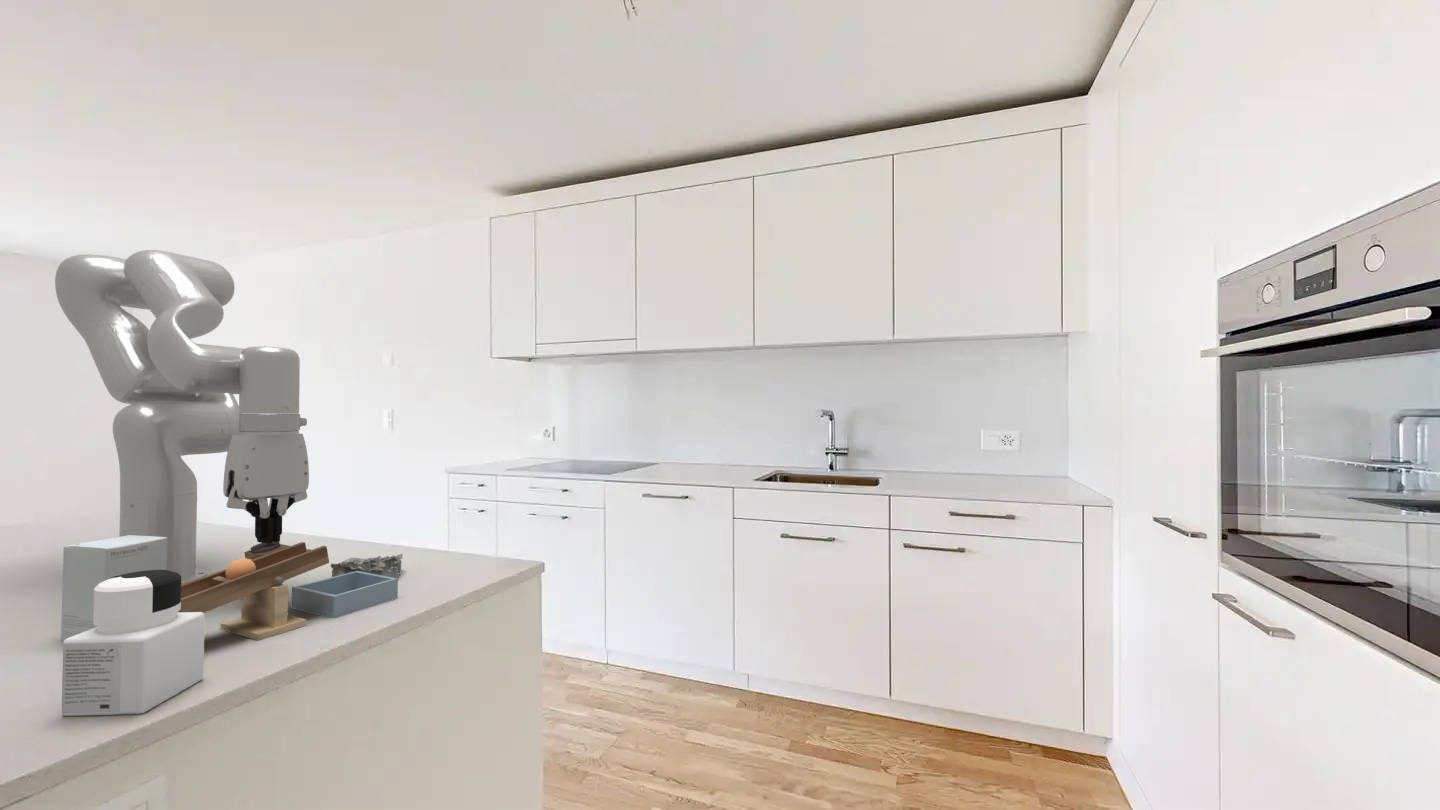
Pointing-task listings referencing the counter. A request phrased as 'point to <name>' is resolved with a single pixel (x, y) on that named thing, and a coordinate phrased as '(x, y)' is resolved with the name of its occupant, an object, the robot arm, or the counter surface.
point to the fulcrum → (264, 614)
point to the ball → (239, 568)
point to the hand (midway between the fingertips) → (268, 541)
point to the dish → (344, 593)
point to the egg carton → (370, 566)
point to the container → (133, 647)
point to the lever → (252, 575)
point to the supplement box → (102, 573)
